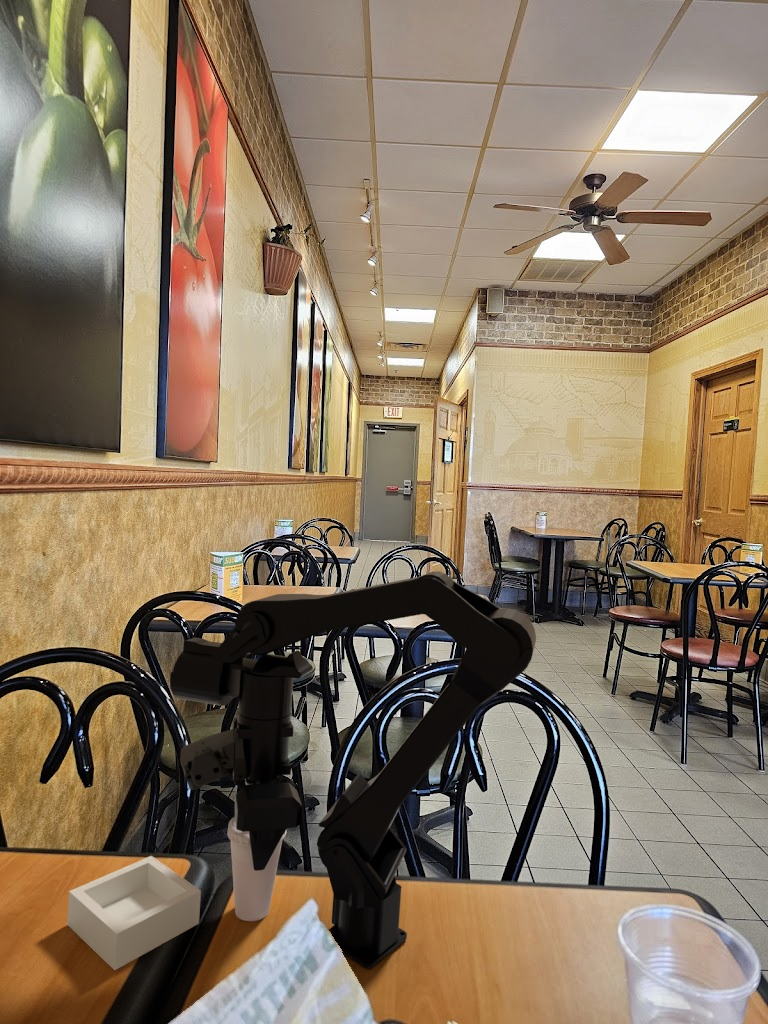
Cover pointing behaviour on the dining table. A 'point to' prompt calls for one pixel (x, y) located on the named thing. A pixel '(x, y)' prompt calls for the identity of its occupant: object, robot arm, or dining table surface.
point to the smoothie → (251, 876)
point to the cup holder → (133, 910)
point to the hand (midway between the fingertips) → (256, 852)
